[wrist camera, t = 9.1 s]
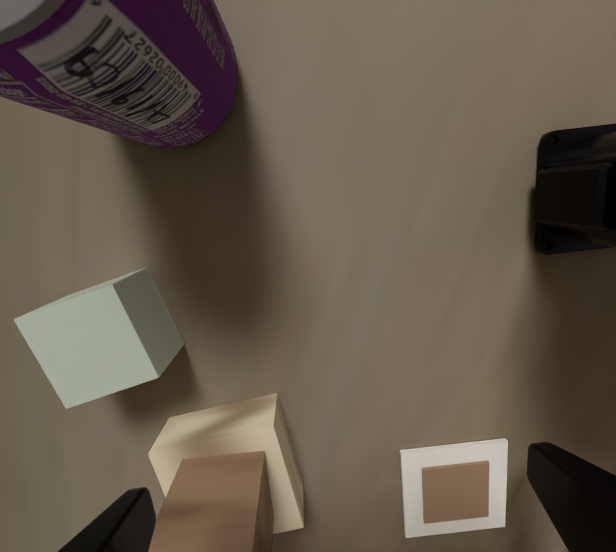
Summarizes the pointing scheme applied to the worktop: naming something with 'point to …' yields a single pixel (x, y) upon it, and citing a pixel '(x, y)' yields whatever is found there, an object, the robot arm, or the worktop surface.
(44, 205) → the worktop surface
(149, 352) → the sage block
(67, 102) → the beverage can
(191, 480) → the walnut block
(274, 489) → the beech base
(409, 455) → the swatch
